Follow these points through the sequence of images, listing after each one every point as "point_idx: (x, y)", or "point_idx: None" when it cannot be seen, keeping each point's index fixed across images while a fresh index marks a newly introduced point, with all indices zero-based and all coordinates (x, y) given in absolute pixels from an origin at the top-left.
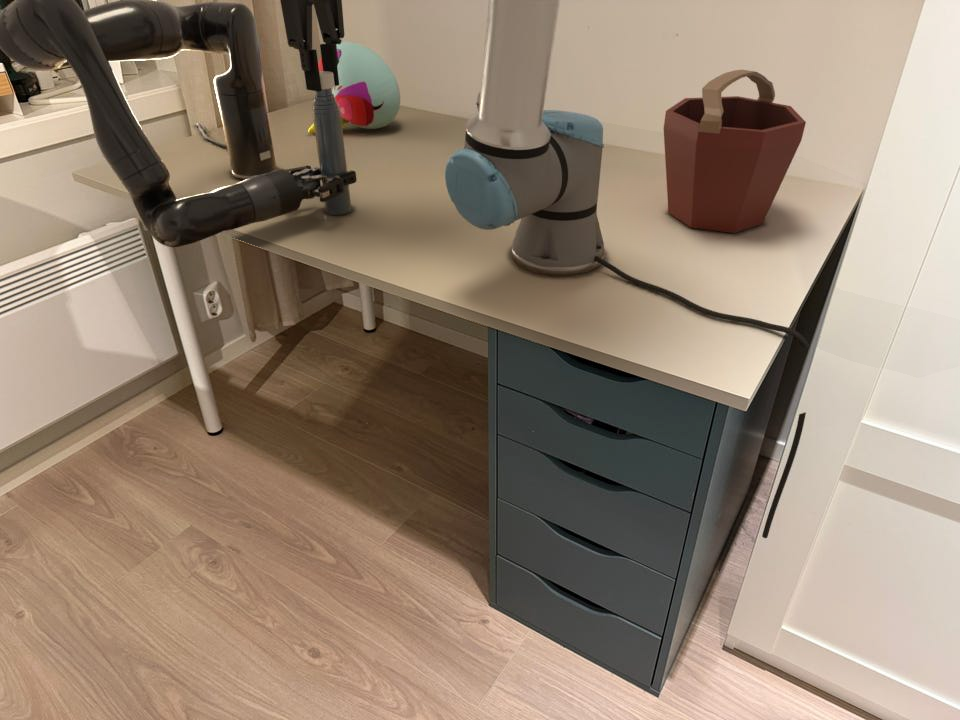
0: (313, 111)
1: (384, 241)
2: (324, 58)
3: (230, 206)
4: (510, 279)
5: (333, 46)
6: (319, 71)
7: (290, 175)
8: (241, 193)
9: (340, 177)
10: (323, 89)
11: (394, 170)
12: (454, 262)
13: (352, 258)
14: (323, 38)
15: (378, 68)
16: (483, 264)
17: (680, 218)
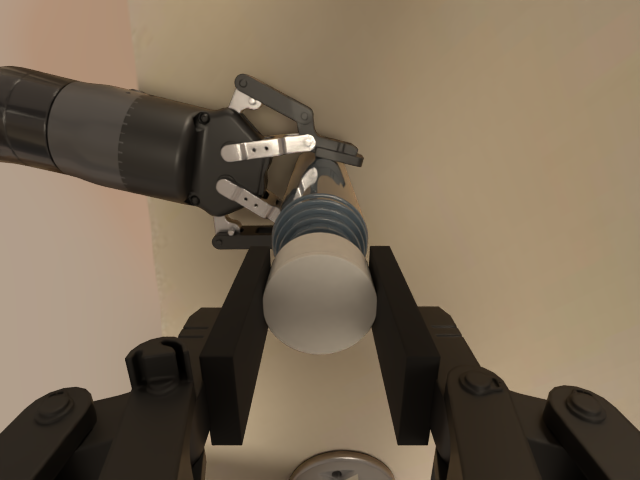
0: (277, 221)
1: None
2: (387, 325)
3: (11, 162)
4: (260, 474)
5: (412, 438)
6: (353, 269)
7: (175, 189)
8: (39, 160)
9: None
10: None
11: (573, 123)
12: (260, 415)
13: (187, 311)
14: (447, 399)
15: None
16: (275, 441)
17: None
